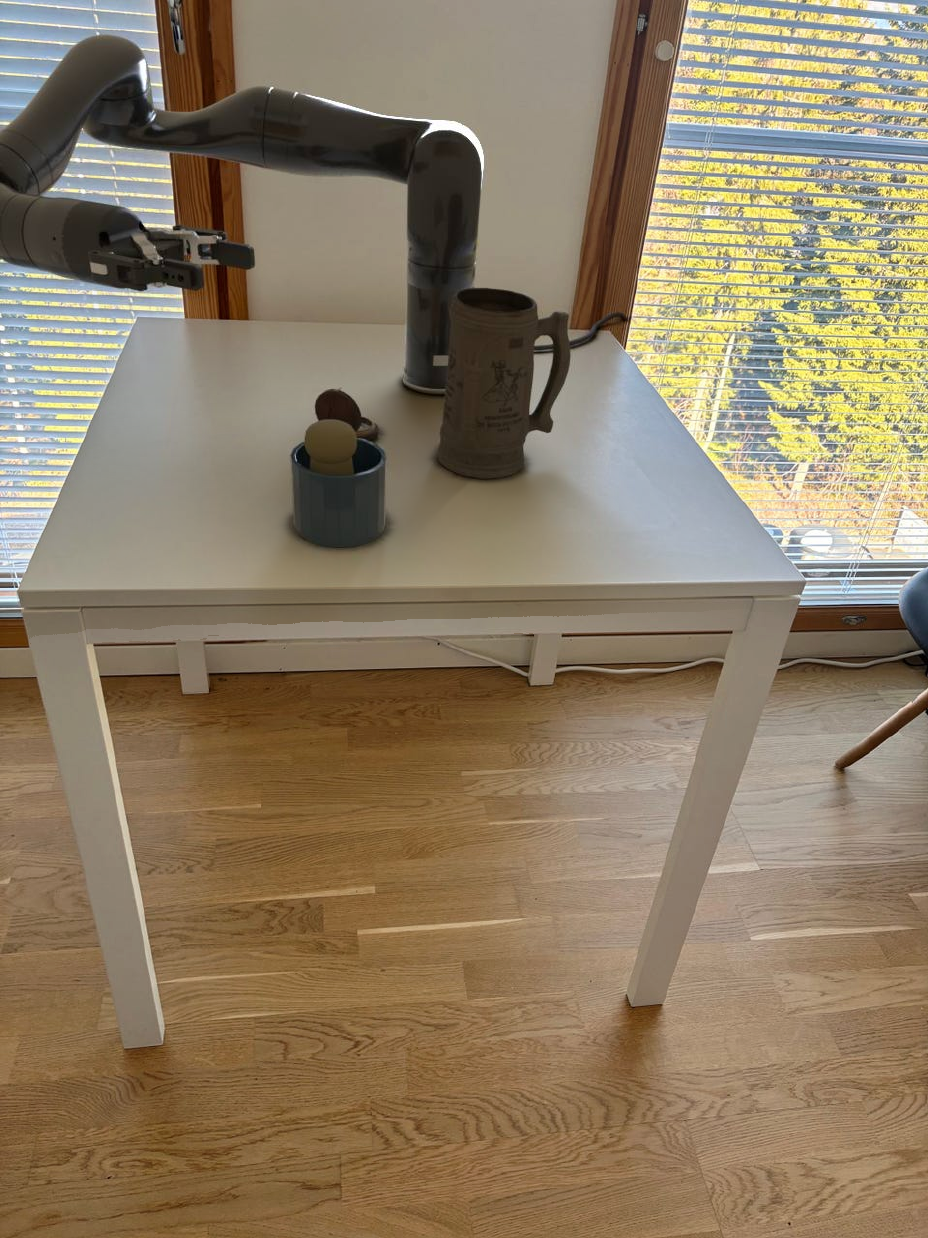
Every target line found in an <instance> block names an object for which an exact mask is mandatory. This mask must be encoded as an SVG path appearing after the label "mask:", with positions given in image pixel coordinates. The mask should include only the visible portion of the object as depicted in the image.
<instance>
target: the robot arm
mask: <svg viewBox="0 0 928 1238" xmlns="http://www.w3.org/2000/svg"><path fill="white" fill-rule="evenodd" d="M151 83H152V82H151V74H150V70H149V65H148V62H147V58H146V55H145V53H144V52H143V50H142V49H141V47H139V46H138V45H137V44H136V43H135V42H133V41H131V40H129V39H128V38H125V37H123V36H119V35H113V34H97V35H91V36H88V37H85V38H84V39H82V40H80V41H78V42H77V43H76V44H74V45H73V46H72V47H71V48H70V49H69V50H68V51H67V52H66V54H65V55H64V56H63V58H62V59H61V60H60V62H59V63H58V64H57V66H56V67H55V68H54V70H53V71H52V72H51V74H50V75H49V76H48V77H47V79H46V80H45V82H44V83H43V84H42V85H41V86H40V88H39V89H38V91H37V92H36V94H35V95H34V96H33V97H32V99H31V100H30V101H29V103H28V104H27V105H26V106H25V108H23V110H22V111H21V112H20V113H19V114H18V115H17V116H16V117H15V118H14V119H13V120H12V121H11V122H10V123H9V124H7V125H6V126H5V127H4V128H2V129H1V130H0V261H1V260H2V261H4V262H6V263H7V264H10V265H13V266H16V267H21V268H26V269H31V270H35V271H40V272H46V273H50V274H53V275H55V276H58V277H61V278H65V279H69V280H74V281H78V282H84V283H88V284H94V285H97V286H98V285H99V286H104V287H107V288H109V287H110V288H114V289H120V290H123V289H129V290H133V291H137V292H144V291H148V289H149V287H148V286H150V285H151V286H152V287H154V288H157V289H158V288H161V289H162V288H164V287H166V286H168V287H174V288H179V289H184V290H189V291H195V292H198V291H200V290H202V289H204V287H205V279H204V270H203V267H202V265H215V266H225V267H228V268H229V267H230V268H236V269H241V270H246V271H247V270H248V271H249V270H252V269H254V268H255V266H256V258H255V257H256V256H255V248H254V246H252V245H251V244H247V243H241V242H235V241H230V240H228V233H227V232H226V231H223V230H215V229H208V228H201V227H195V226H188V225H181V224H175V225H172V230H168V229H166V228H164V227H149V228H146V226H145V225H144V223H143V221H142V220H141V219H140V218H139V216H138V215H137V214H136V213H135V212H134V211H133V210H131V209H130V208H128V207H125V206H121V205H115V204H109V203H103V202H96V201H92V200H91V201H90V200H85V199H79V198H73V197H64V196H63V197H62V196H57V197H56V196H55V197H51V196H45V194H47V193H48V192H49V191H50V190H51V189H52V188H53V187H54V186H56V184H57V183H58V182H59V180H60V179H61V178H62V177H63V175H64V174H65V171H66V169H67V167H68V166H69V163H70V161H71V159H72V157H73V154H74V151H75V149H76V146H77V143H78V141H79V138H80V135H81V133H82V130H83V131H84V133H85V134H86V135H87V136H88V137H90V138H91V139H93V140H95V141H97V142H100V143H102V144H104V145H108V146H112V147H118V148H123V149H133V150H142V151H152V152H163V153H170V154H171V153H172V154H181V155H182V154H183V155H192V156H199V157H205V158H210V159H217V160H221V161H227V162H232V163H238V164H243V165H248V166H251V167H256V168H260V169H264V170H270V171H274V172H279V173H285V174H289V175H295V176H303V177H313V178H315V177H316V178H317V177H318V178H342V177H343V178H344V177H345V178H346V177H347V178H348V177H367V178H368V177H370V178H377V179H383V180H387V181H391V182H394V183H398V184H402V185H405V186H407V189H406V190H407V192H406V240H407V258H406V259H407V260H406V289H405V290H406V292H405V293H406V295H405V296H406V297H405V323H404V325H405V326H404V328H405V329H404V357H403V358H404V361H403V362H404V363H403V364H404V365H403V375H402V383H403V385H405V386H406V387H407V388H409V389H411V390H413V391H414V392H415V391H416V392H419V393H423V394H429V395H445V388H446V378H447V368H448V357H449V346H450V333H451V319H450V316H449V308H450V306H451V302H452V297H453V295H454V294H455V292H457V291H459V290H462V289H467V288H475V281H476V280H475V279H476V268H477V267H476V265H477V256H478V255H477V254H478V241H479V225H480V223H479V222H480V213H481V212H480V210H481V197H482V183H483V171H484V153H483V149H482V146H481V144H480V141H479V139H478V138H477V137H476V135H475V134H474V133H473V131H471V130H470V129H469V128H468V127H467V126H465V125H462V123H458V122H456V121H452V120H451V121H450V120H432V119H419V118H418V119H416V118H407V117H397V116H388V115H383V114H378V113H374V112H371V111H368V110H367V111H366V110H364V109H360V108H358V107H357V108H356V107H355V106H350V105H347V104H344V103H341V102H337V101H333V100H329V99H325V98H322V97H318V96H314V95H310V94H307V93H303V92H297V91H292V90H288V89H282V88H277V87H272V86H266V85H254V86H253V85H252V86H249V87H247V88H244V89H241V90H239V91H237V92H235V93H232V94H231V95H228V96H227V97H224V98H223V99H221V100H219V101H216V102H215V103H213V104H210V105H208V106H207V107H204V108H200V109H198V110H193V111H171V110H165V109H160V108H157V107H155V106H154V100H153V92H152V84H151ZM188 255H189V256H190V259H189V260H185V258H186V257H185V256H188ZM614 318H620V319H621V320H622V321H628V318H627V316H626V315H625V313H623V312H620V311H616V312H612V313H609V314H608V315H606V316H604V317H603V318H601V319H600V320H597V321H596V322H595V323H594V324H593V325H592V326H591V328H590V331H589V332H588V333H587V334H584V335H582V336H580V337H578V338H574V339H572V340H569V343H570V347H571V346H575V345H578V344H581V343H583V342H586V341H587V340H589V339H591V338H592V337H593V336H594V335H595V333H596V331H597V329H598V328H599V327H600V326H602V325H604V324H605V323H608V322H609V321H610V320H612V319H614ZM548 350H553V343H549V344H536V345H535V344H534V351H548Z"/></svg>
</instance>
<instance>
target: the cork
mask: <svg viewBox="0 0 928 1238" xmlns="http://www.w3.org/2000/svg"><path fill="white" fill-rule="evenodd" d="M303 442H305V448H306V451H307V452H308V454H309V455H310V456H311V459H310V469H309V470H311V471H314V472H318V473H322V474H330V475H351V474H354V470H353V463H352V455H353V454H354V453H355V451H356V447H357V436H356V433H355V431H354V429H353V428H352V427H351V425H349V424H347V423H345V422H343V421H340V420H331V419H327V420H321V421H318V420H317V421H315V422H313V423H311V424H310V425H309V426H308V427H307V429H306V430H305V433H304V441H303Z"/></svg>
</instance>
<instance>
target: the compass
mask: <svg viewBox="0 0 928 1238" xmlns="http://www.w3.org/2000/svg"><path fill="white" fill-rule="evenodd" d="M314 412H315V413H314V414H315V416H316V419H317V421H321V420H327V419H331V420H340V421H343V422H345V423H347V424H349V425H351V427H352V428H353V429H354V431H355V433H356V436H357V438H361V439H365V440H368V441H371V440H373V439H374V438H376V437H377V436H378V435H379V426H378V424H376V423H375V422H374V421H372V420H371V419H370V418H368V417H365V416H362V413H361V410H360V407H359V405H358V403H357V402H356V400H355V399H353V397H352V395H351V396H350V395H349V394H348V393H346V392H345V391H343V390H342V387H339V388H329V389H326V390H324V391H323V392H322V393H320V394H319V395H318V396H317V398H316V399H315V403H314Z"/></svg>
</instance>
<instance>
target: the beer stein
mask: <svg viewBox="0 0 928 1238" xmlns="http://www.w3.org/2000/svg"><path fill="white" fill-rule="evenodd" d="M449 316H450V319H451V333H450V346H449V357H448V368H447V378H446V388H445V394H444V399H443V410H442V411H443V413H442V421H441V422H442V423H441V425H440V429H439V439H440V440H439V445H438V449H437V459H438V461H439V463H440V464H441V465H442V466H444V468H446V469H448V470H450V471H451V472H454V473H456V474H458V475H460V476H464V477H470V478H476V479H499V478H504V477H509V476H512V475H515V474H516V473H518V472H520V471H521V470H522V468H523V466H524V464H525V451H524V445H525V443H526V439H527V436H528V434H529V433H531V432H535V431H538V432H542V433H545V434H549V433H552V429H553V427H554V420H553V418H552V417H551V416H552V415H551V411H552V408H553V406H554V403H555V402H556V400H557V398H558V396H559V394H560V393H561V391H562V390H563V387H564V385H565V382H566V380H567V378H568V377H567V376H568V374H569V371H570V365H571V355H572V354H571V346H570V343H569V341H570V339H569V333H568V331H569V329H568V328H569V327H568V325H569V318H570V314H569V313H568V312H565V311H557V310H555V311H553V312H552V313H551V315H549V316H547V317H542V318H539V313H538V304H537V302H536V300H535V299H534V298H532V297H531V296H529V295H526V294H523V293H520V292H516V291H514V290H509V289H501V288H489V287H474V288H467V289H462V290H459V291H457V292H455V294H454V295H453V297H452V302H451V306H450V308H449ZM541 336H543V337H544V336H547V337H549V338H550V339H551V341H552V344H553V349H552V361H551V366H550V369H549V374H548V375H549V376H548V378H547V381H546V384H545V387H544V389H543V392H542V394H541V397H540V399H539V401H538V403H537V404H536V407H535V408H534V410H533V412H532V413H530V412H531V411H530V409H531V398H532V390H533V383H534V382H533V380H534V371H535V356H534V354H535V350H534V345H535V343H536V341H537V340H538V339H539V338H540V337H541Z"/></svg>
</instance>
